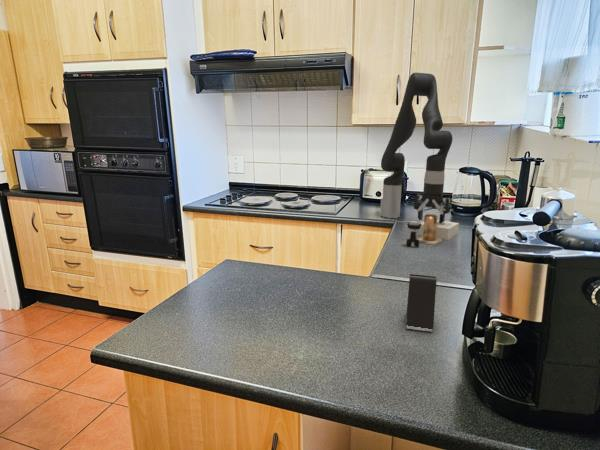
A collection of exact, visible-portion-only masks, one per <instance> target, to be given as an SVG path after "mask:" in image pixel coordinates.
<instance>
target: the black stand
mask: <svg viewBox="0 0 600 450" xmlns="http://www.w3.org/2000/svg"><path fill="white" fill-rule="evenodd" d="M406 225H407V229H408V237H407V238H406V241H404V243H401V245H404V246H406V247H412V248H419V247H420V242H419V240H418V238H419V235H418V229H420V226H421V224H420V222H419V220H409V222H408V223H406Z"/></svg>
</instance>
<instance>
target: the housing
mask: <svg viewBox="0 0 600 450" xmlns="http://www.w3.org/2000/svg"><path fill="white" fill-rule="evenodd" d="M419 224H421V226H420V229H418V236H421V237H422V236H423V230H424V221H421V222H419ZM459 225H460V223H459V222H453V221H448V220H444V222H443V223H439V219H437V229H436V238H438V239H442V241H449V240H450V239H452V238H454V237H455V236H457V235H458V234H459Z"/></svg>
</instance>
